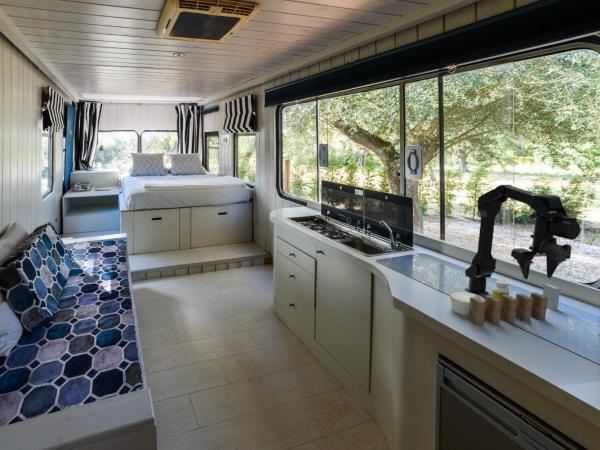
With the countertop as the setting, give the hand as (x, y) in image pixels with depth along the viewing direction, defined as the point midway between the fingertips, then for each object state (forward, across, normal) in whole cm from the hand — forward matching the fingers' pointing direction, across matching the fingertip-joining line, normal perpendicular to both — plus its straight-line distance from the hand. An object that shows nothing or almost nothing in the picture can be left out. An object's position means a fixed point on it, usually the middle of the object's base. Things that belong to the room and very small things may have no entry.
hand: (537, 278), depth 140 cm
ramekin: (+14, -20, +9) cm, 26 cm away
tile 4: (+14, -16, 0) cm, 22 cm away
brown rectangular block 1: (+14, -4, 0) cm, 15 cm away
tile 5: (+14, -22, -1) cm, 26 cm away
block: (+14, +14, +7) cm, 21 cm away
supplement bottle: (+14, -6, +10) cm, 18 cm away
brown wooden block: (+14, -10, 0) cm, 17 cm away
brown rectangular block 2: (+14, +2, 0) cm, 14 cm away
